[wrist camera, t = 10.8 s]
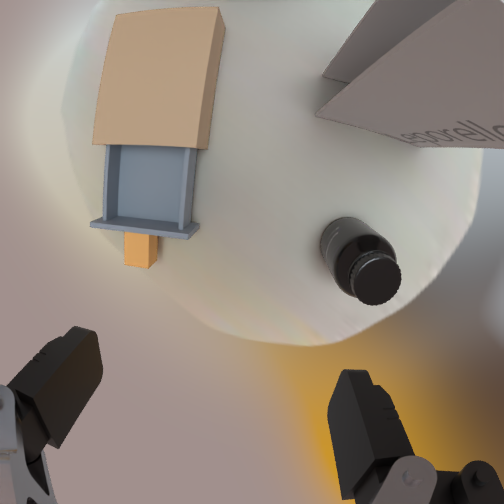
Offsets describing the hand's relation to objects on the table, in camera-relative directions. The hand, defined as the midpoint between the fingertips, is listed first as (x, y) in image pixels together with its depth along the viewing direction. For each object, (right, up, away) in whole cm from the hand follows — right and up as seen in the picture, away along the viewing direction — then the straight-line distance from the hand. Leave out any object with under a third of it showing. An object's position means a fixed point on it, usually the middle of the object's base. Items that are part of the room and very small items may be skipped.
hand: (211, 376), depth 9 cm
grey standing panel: (+16, +21, +22) cm, 35 cm away
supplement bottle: (+13, +5, +28) cm, 31 cm away
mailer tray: (-10, +13, +25) cm, 30 cm away
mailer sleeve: (-9, +24, +22) cm, 34 cm away
